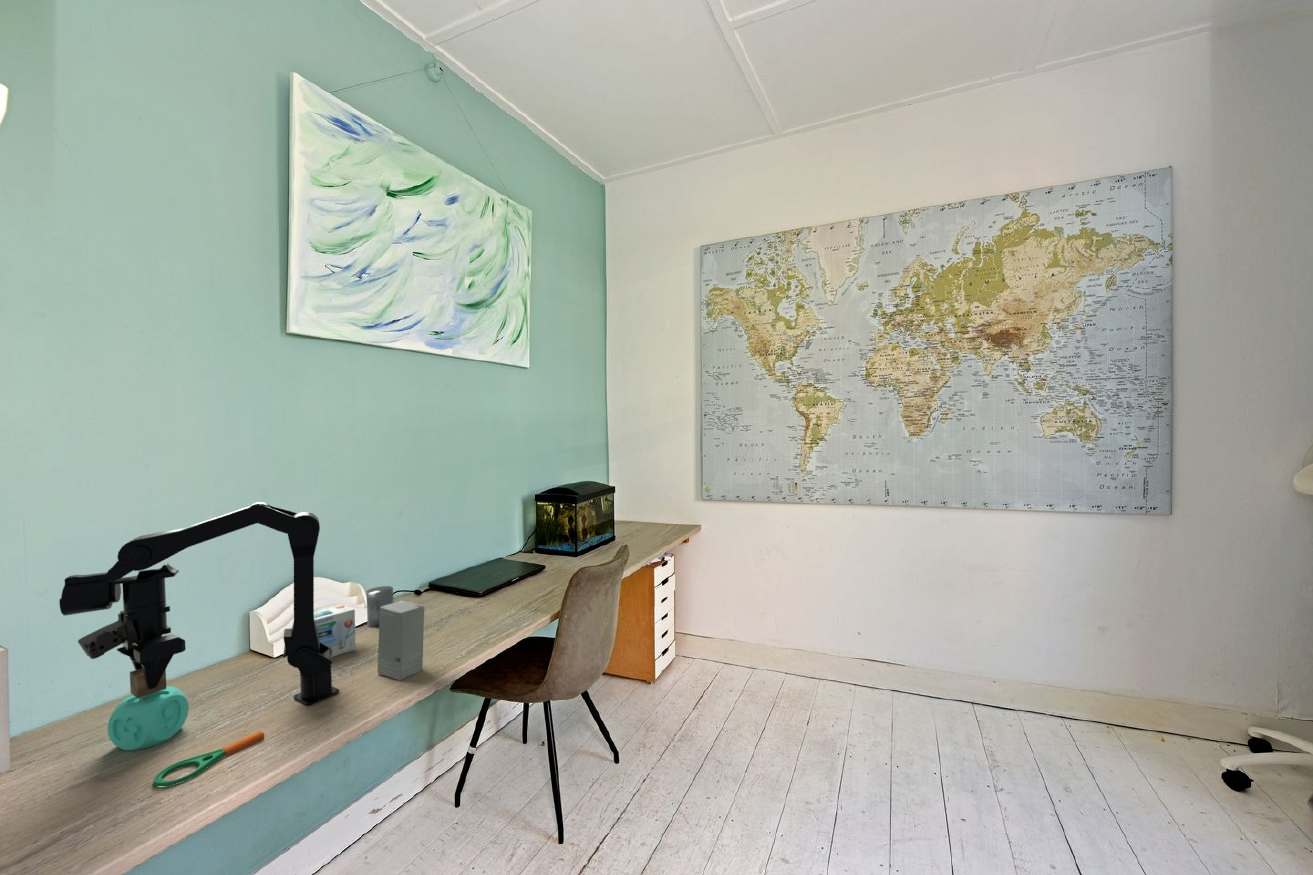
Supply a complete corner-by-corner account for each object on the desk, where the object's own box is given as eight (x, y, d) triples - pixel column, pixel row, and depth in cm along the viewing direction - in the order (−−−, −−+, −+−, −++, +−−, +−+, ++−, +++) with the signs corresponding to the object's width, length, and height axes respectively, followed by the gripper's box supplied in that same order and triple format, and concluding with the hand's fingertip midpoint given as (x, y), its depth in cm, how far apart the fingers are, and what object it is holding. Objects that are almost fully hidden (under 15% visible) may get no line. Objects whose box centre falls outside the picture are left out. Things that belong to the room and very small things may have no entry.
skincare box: (376, 674, 123) (374, 607, 123) (404, 662, 129) (401, 598, 129) (400, 681, 119) (398, 612, 119) (427, 668, 125) (425, 603, 125)
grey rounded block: (398, 621, 158) (397, 588, 158) (376, 628, 152) (374, 594, 152) (385, 617, 161) (384, 584, 161) (362, 624, 155) (361, 591, 155)
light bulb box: (311, 664, 129) (309, 620, 129) (300, 657, 133) (299, 615, 133) (357, 649, 138) (355, 608, 138) (346, 643, 142) (344, 603, 142)
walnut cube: (166, 688, 99) (165, 667, 99) (137, 698, 96) (136, 676, 96) (159, 683, 102) (158, 663, 101) (130, 692, 98) (129, 671, 98)
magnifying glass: (161, 795, 84) (161, 784, 84) (147, 782, 87) (147, 772, 87) (270, 744, 97) (269, 735, 97) (254, 735, 100) (254, 726, 100)
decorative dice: (151, 726, 103) (149, 685, 103) (190, 726, 103) (188, 685, 103) (107, 751, 95) (105, 707, 95) (149, 751, 95) (147, 707, 95)
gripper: (68, 608, 97) (72, 692, 97) (98, 626, 87) (102, 719, 87) (150, 591, 106) (153, 667, 106) (184, 606, 96) (188, 690, 97)
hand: (148, 685), depth 99 cm, fingers closed on walnut cube, 4 cm apart
